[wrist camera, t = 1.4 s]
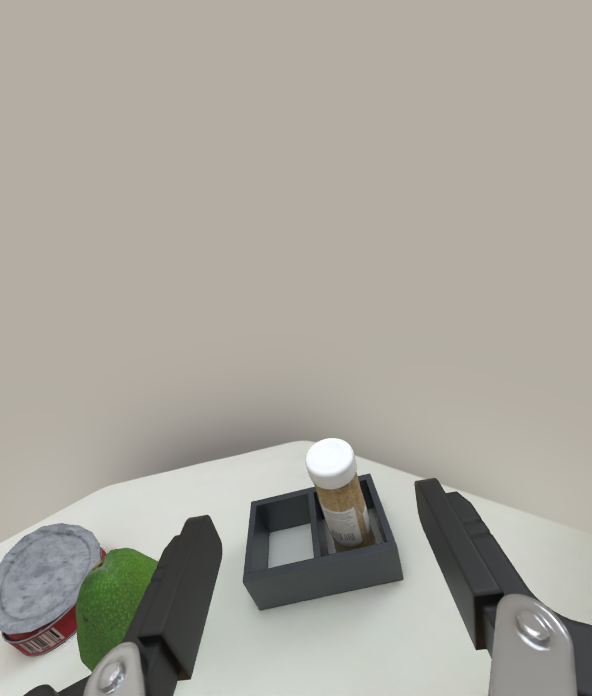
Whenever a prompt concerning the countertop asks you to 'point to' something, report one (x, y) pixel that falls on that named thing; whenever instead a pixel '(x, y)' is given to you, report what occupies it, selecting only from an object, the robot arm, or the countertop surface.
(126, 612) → the avocado
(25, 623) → the canned food
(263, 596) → the divided storage box
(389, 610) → the countertop surface
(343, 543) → the sprinkles bottle
